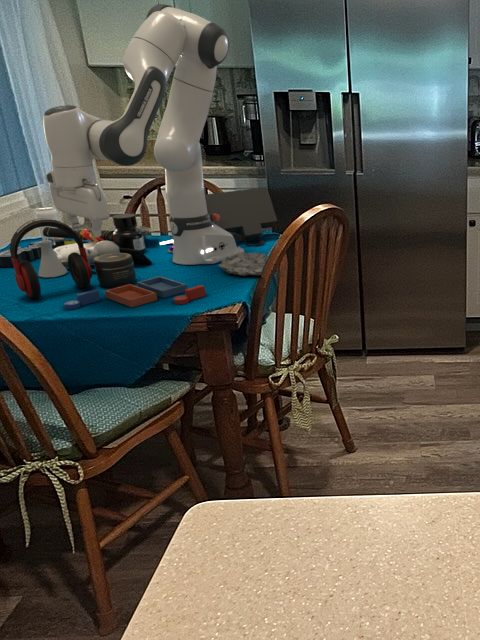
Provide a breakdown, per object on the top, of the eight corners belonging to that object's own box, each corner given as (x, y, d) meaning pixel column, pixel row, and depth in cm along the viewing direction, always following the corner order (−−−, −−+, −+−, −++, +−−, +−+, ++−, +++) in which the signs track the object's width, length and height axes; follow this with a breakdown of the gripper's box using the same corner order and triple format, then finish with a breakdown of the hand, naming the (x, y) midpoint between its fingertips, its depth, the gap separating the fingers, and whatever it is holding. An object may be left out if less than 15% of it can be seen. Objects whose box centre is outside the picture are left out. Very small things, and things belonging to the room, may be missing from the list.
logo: (47, 237, 220) (72, 239, 218) (49, 247, 221) (74, 249, 219) (-13, 255, 199) (15, 257, 197) (-10, 265, 200) (18, 268, 199)
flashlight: (46, 236, 218) (128, 241, 225) (42, 240, 213) (126, 245, 221) (44, 223, 216) (128, 229, 223) (40, 228, 211) (125, 233, 219)
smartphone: (115, 258, 208) (153, 263, 203) (114, 260, 207) (152, 264, 203) (99, 245, 201) (139, 249, 197) (98, 247, 201) (138, 251, 197)
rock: (259, 255, 207) (214, 271, 199) (256, 243, 204) (210, 258, 197) (284, 273, 195) (237, 290, 188) (281, 260, 193) (233, 277, 186)
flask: (55, 279, 189) (46, 245, 185) (33, 277, 191) (24, 243, 186) (72, 271, 196) (64, 239, 192) (52, 270, 197) (43, 237, 193)
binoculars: (110, 257, 210) (107, 243, 208) (57, 268, 198) (53, 253, 197) (95, 251, 216) (92, 237, 214) (43, 262, 205) (39, 247, 203)
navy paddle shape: (95, 298, 174) (93, 288, 172) (102, 301, 172) (100, 291, 171) (62, 307, 167) (59, 297, 166) (69, 310, 165) (66, 300, 164)
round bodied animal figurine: (76, 271, 195) (69, 244, 192) (117, 263, 203) (111, 236, 200) (86, 276, 191) (79, 248, 187) (127, 268, 199) (121, 240, 195)
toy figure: (114, 254, 217) (79, 236, 207) (106, 247, 221) (72, 230, 211) (118, 247, 217) (83, 230, 207) (110, 241, 221) (76, 223, 211)
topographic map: (139, 225, 235) (140, 220, 235) (176, 236, 228) (176, 230, 227) (90, 224, 219) (90, 218, 218) (127, 235, 211) (127, 229, 210)
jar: (93, 283, 186) (87, 256, 183) (129, 275, 192) (124, 250, 189) (106, 290, 179) (100, 264, 176) (143, 283, 186) (137, 257, 183)
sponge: (56, 241, 211) (57, 250, 212) (83, 240, 210) (84, 249, 211) (77, 242, 221) (78, 251, 221) (102, 242, 220) (103, 250, 221)
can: (68, 241, 229) (59, 206, 224) (49, 245, 224) (40, 210, 219) (58, 238, 232) (49, 204, 227) (39, 242, 227) (30, 208, 222)
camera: (186, 212, 230) (199, 255, 230) (194, 195, 216) (208, 241, 216) (255, 203, 243) (267, 243, 243) (266, 186, 229) (280, 229, 229)
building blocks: (185, 242, 222) (185, 247, 223) (164, 245, 216) (164, 250, 217) (197, 246, 219) (197, 251, 220) (176, 249, 213) (176, 254, 214)
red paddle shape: (200, 294, 177) (198, 284, 176) (208, 296, 175) (206, 286, 174) (171, 302, 171) (169, 292, 170) (179, 305, 169) (177, 295, 168)
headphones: (87, 281, 187) (70, 211, 179) (99, 289, 181) (82, 217, 172) (18, 295, 176) (-4, 221, 168) (28, 304, 170) (6, 227, 161)
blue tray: (138, 289, 181) (136, 282, 180) (161, 282, 186) (160, 276, 185) (163, 298, 174) (162, 291, 173) (187, 291, 179) (186, 284, 178)
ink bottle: (144, 254, 213) (137, 217, 208) (115, 257, 210) (107, 220, 205) (146, 247, 221) (139, 211, 216) (118, 249, 218) (110, 213, 213)
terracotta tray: (106, 297, 174) (104, 290, 174) (131, 290, 180) (130, 283, 179) (131, 307, 168) (130, 300, 167) (157, 299, 173) (156, 292, 172)
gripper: (110, 180, 156) (121, 237, 162) (67, 171, 167) (79, 225, 172) (84, 183, 151) (96, 242, 157) (41, 174, 162) (54, 229, 168)
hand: (86, 233), depth 165 cm, fingers open, 8 cm apart
